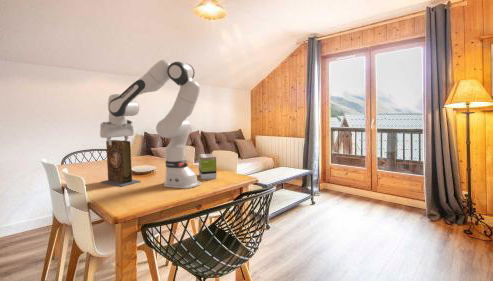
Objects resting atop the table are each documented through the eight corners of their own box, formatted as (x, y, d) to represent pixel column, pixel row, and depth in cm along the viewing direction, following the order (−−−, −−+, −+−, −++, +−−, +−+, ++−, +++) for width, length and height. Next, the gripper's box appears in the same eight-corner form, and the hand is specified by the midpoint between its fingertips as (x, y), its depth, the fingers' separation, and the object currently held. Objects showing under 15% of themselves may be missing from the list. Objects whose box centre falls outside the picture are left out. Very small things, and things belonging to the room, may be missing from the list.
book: (106, 180, 161) (104, 140, 158) (114, 178, 165) (113, 140, 163) (124, 183, 153) (122, 141, 151) (132, 181, 158) (130, 141, 155)
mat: (140, 181, 160) (140, 180, 160) (121, 186, 149) (121, 185, 149) (119, 178, 170) (119, 177, 170) (100, 182, 158) (100, 181, 158)
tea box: (198, 174, 180) (198, 153, 178) (212, 174, 183) (212, 153, 181) (201, 179, 165) (201, 157, 164) (216, 178, 168) (216, 156, 167)
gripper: (103, 121, 146) (105, 146, 147) (134, 121, 164) (135, 143, 165) (97, 121, 149) (98, 145, 150) (128, 121, 167) (129, 142, 168)
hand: (118, 144), depth 157 cm, fingers open, 8 cm apart
